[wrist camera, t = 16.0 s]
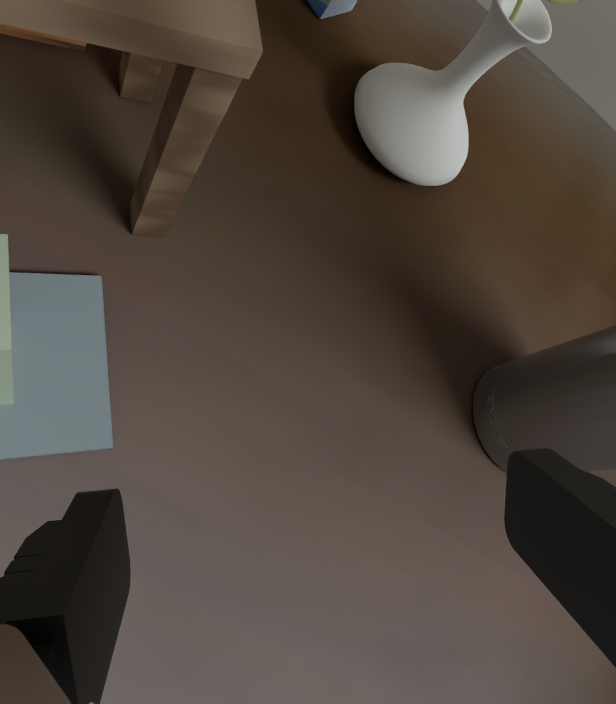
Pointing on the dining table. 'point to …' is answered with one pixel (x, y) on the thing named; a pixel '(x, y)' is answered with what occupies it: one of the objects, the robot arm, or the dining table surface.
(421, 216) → the dining table surface
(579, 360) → the robot arm
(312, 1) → the medicine box
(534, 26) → the flower in vase
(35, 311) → the slate mat
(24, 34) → the shallow orange tray
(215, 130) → the walnut table
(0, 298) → the sage block
